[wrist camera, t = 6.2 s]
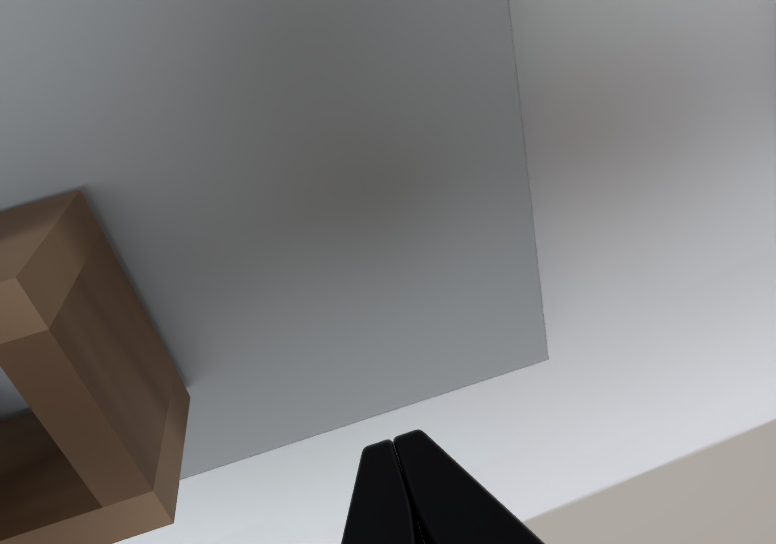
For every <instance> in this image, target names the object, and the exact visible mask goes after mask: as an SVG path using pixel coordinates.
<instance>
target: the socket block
mask: <svg viewBox="0 0 776 544" xmlns="http://www.w3.org/2000/svg"><path fill="white" fill-rule="evenodd" d="M0 367H1V368H2V370H3V371H4V372H5V374H6V375H7V377H8V378H9V379H10V381H11V382H12V383H13V385H14V386H15V388H16V389H17V390H18V392H19V393H20V394H21V396H22V397H23V399H24V400H25V401H26V403H27V404H28V405H29V407H30V408H31V410H32V411H33V412H34V413H31V414H27V415H24V416H21V417H18V418H15V419H11V420H8V421H5V422H2V423H0V544H112V543H115V542H118V541H121V540H124V539H127V538H130V537H133V536H136V535H139V534H142V533H146V532H149V531H152V530H155V529H158V528H161V527H164V526H167V525H170V524H173V523H174V518H175V510H176V503H177V495H178V488H179V480H180V473H181V465H182V458H183V450H184V443H185V435H186V428H187V420H188V412H189V405H190V395H189V393H188V391H187V389H186V388H185V386H184V384H183V382H182V380H181V378H180V376H179V374H178V373H177V371H176V369H175V367H174V365H173V363H172V361H171V359H170V357H169V356H168V354H167V352H166V350H165V348H164V346H163V344H162V342H161V341H160V339H159V337H158V335H157V333H156V331H155V329H154V327H153V325H152V324H151V322H150V320H149V318H148V316H147V314H146V312H145V310H144V309H143V307H142V305H141V303H140V301H139V299H138V297H137V295H136V293H135V292H134V290H133V288H132V286H131V284H130V282H129V280H128V278H127V277H126V275H125V273H124V271H123V269H122V267H121V265H120V263H119V262H118V260H117V258H116V256H115V254H114V252H113V250H112V248H111V246H110V245H109V243H108V241H107V239H106V237H105V235H104V233H103V231H102V230H101V228H100V226H99V224H98V222H97V220H96V218H95V216H94V214H93V213H92V211H91V209H90V207H89V205H88V203H87V201H86V199H85V198H84V196H83V194H82V192H81V190H77V191H74V192H71V193H67V194H64V195H60V196H57V197H53V198H50V199H46V200H43V201H39V202H36V203H32V204H29V205H25V206H22V207H18V208H15V209H11V210H8V211H4V212H1V213H0Z"/></svg>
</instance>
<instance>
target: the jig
mask: <svg viewBox="0 0 776 544" xmlns="http://www.w3.org/2000/svg"><path fill="white" fill-rule="evenodd" d="M77 190H81V192H82V194H83V196H84V198H85V199H86V201H87V203H88V205H89V207H90V209H91V211H92V213H93V214H94V216H95V218H96V220H97V222H98V224H99V226H100V228H101V230H102V231H103V233H104V235H105V237H106V239H107V241H108V243H109V245H110V246H111V248H112V250H113V252H114V254H115V256H116V258H117V260H118V262H119V263H120V265H121V267H122V269H123V271H124V273H125V275H126V277H127V278H128V280H129V282H130V284H131V286H132V288H133V290H134V292H135V293H136V295H137V297H138V299H139V301H140V303H141V305H142V307H143V309H144V310H145V312H146V314H147V316H148V318H149V320H150V322H151V324H152V325H153V327H154V329H155V331H156V333H157V335H158V337H159V339H160V341H161V342H162V344H163V346H164V348H165V350H166V352H167V354H168V356H169V357H170V359H171V361H172V363H173V365H174V367H175V369H176V371H177V373H178V374H179V376H180V378H181V380H182V382H183V384H184V386H185V388H186V389H187V391H188V393H189V395H190V405H189V412H188V420H187V428H186V435H185V443H184V450H183V458H182V465H181V473H180V480H181V479H184V478H187V477H190V476H193V475H196V474H199V473H203V472H206V471H209V470H212V469H215V468H218V467H221V466H224V465H227V464H230V463H233V462H236V461H239V460H242V459H245V458H248V457H252V456H255V455H258V454H261V453H264V452H267V451H270V450H273V449H276V448H279V447H282V446H285V445H288V444H291V443H294V442H297V441H300V440H304V439H307V438H310V437H313V436H316V435H319V434H322V433H325V432H328V431H331V430H334V429H337V428H340V427H343V426H346V425H349V424H352V423H356V422H359V421H362V420H365V419H368V418H371V417H374V416H377V415H380V414H383V413H386V412H389V411H392V410H395V409H398V408H401V407H405V406H408V405H411V404H414V403H417V402H420V401H423V400H426V399H429V398H432V397H435V396H438V395H441V394H444V393H447V392H450V391H453V390H457V389H460V388H463V387H466V386H469V385H472V384H475V383H478V382H481V381H484V380H487V379H490V378H493V377H496V376H499V375H502V374H505V373H509V372H512V371H515V370H518V369H521V368H524V367H527V366H530V365H533V364H536V363H539V362H542V361H545V360H548V359H549V358H548V349H547V340H546V331H545V322H544V313H543V304H542V295H541V286H540V278H539V269H538V260H537V251H536V242H535V233H534V224H533V215H532V206H531V197H530V188H529V180H528V171H527V162H526V153H525V144H524V135H523V126H522V117H521V108H520V99H519V90H518V81H517V73H516V64H515V55H514V46H513V37H512V28H511V19H510V10H509V1H508V0H0V213H1V212H4V211H8V210H11V209H15V208H18V207H22V206H25V205H29V204H32V203H36V202H39V201H43V200H46V199H50V198H53V197H57V196H60V195H64V194H67V193H71V192H74V191H77ZM31 413H34V412H33V411H32V410H31V408H30V407H29V405H28V404H27V403H26V401H25V400H24V399H23V397H22V396H21V394H20V393H19V392H18V390H17V389H16V388H15V386H14V385H13V383H12V382H11V381H10V379H9V378H8V377H7V375H6V374H5V372H4V371H3V370H2V368H1V367H0V423H2V422H5V421H8V420H11V419H15V418H18V417H21V416H24V415H27V414H31Z"/></svg>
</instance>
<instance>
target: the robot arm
mask: <svg viewBox="0 0 776 544" xmlns="http://www.w3.org/2000/svg"><path fill="white" fill-rule="evenodd" d="M393 443H394V444H393ZM394 446H395V447H394ZM395 450H396V451H395ZM396 453H397V454H396ZM397 456H398V457H397ZM398 459H399V460H398ZM400 466H401V467H400ZM401 469H402V470H401ZM414 511H415V512H414ZM419 527H420V528H419ZM423 540H424V541H423ZM424 543H425V544H545V543H544V542H543V541H542V540H541V539H539V538H538V537H537V536H536V535H535V534H534V533H533V532H532V531H531V530H529V528H527V527H526V526H525V525H524V524H523V523H522V522H521V521H520V520H519V519H518V518H517V517H516V516H514V515H513V514H512V513H511V512H510V511H509V510H508V509H507V508H506V507H505V506H504V505H503V504H501V503H500V502H499V501H498V500H497V499H496V498H495V497H494V496H493V495H492V494H491V493H490V492H488V491H487V490H486V489H485V488H484V487H483V486H482V485H481V484H480V483H479V482H478V481H477V480H475V479H474V478H473V477H472V476H471V475H470V474H469V473H468V472H467V471H466V470H465V469H463V468H462V467H461V466H460V465H459V464H458V463H457V462H456V461H455V460H454V459H453V458H452V457H450V456H449V455H448V454H447V453H446V452H445V451H444V450H443V449H442V448H441V447H440V446H439V445H437V444H436V443H435V442H434V441H433V440H432V439H431V438H430V437H429V436H428V435H427V434H426V433H424V432H423V431H421V430H414V431H411V432H408V433H405V434H402V435H399V436H396V437H395V438H394V441H393V442H392V441H391V440H384V441H381V442H378V443H375V444H372V445H369V446H366V447H365V448H364V449H363V452H362V455H361V459H360V463H359V468H358V472H357V477H356V481H355V485H354V490H353V494H352V498H351V503H350V507H349V512H348V516H347V520H346V525H345V529H344V533H343V538H342V542H341V544H424Z"/></svg>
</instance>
